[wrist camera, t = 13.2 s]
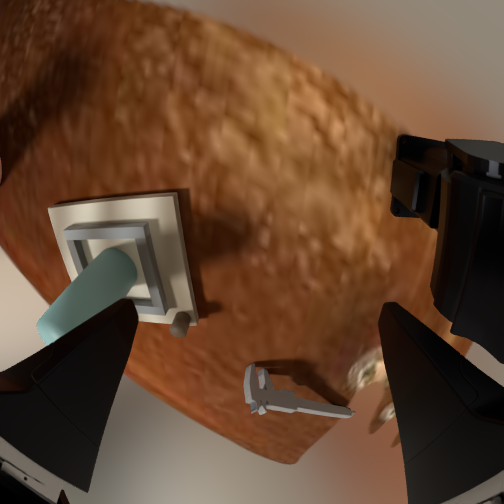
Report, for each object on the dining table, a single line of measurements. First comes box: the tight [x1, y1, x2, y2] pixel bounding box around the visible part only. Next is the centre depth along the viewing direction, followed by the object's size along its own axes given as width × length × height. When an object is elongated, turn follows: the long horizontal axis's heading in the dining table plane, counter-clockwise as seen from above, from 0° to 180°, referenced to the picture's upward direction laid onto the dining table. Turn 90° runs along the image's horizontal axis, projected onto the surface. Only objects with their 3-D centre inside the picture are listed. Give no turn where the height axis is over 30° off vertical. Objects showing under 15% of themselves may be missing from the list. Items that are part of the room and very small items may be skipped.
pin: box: [37, 248, 137, 345], centre depth 20 cm, size 4×4×10 cm
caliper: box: [244, 363, 356, 418], centre depth 30 cm, size 20×1×6 cm, turn 51°
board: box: [48, 192, 199, 338], centre depth 23 cm, size 14×13×3 cm
